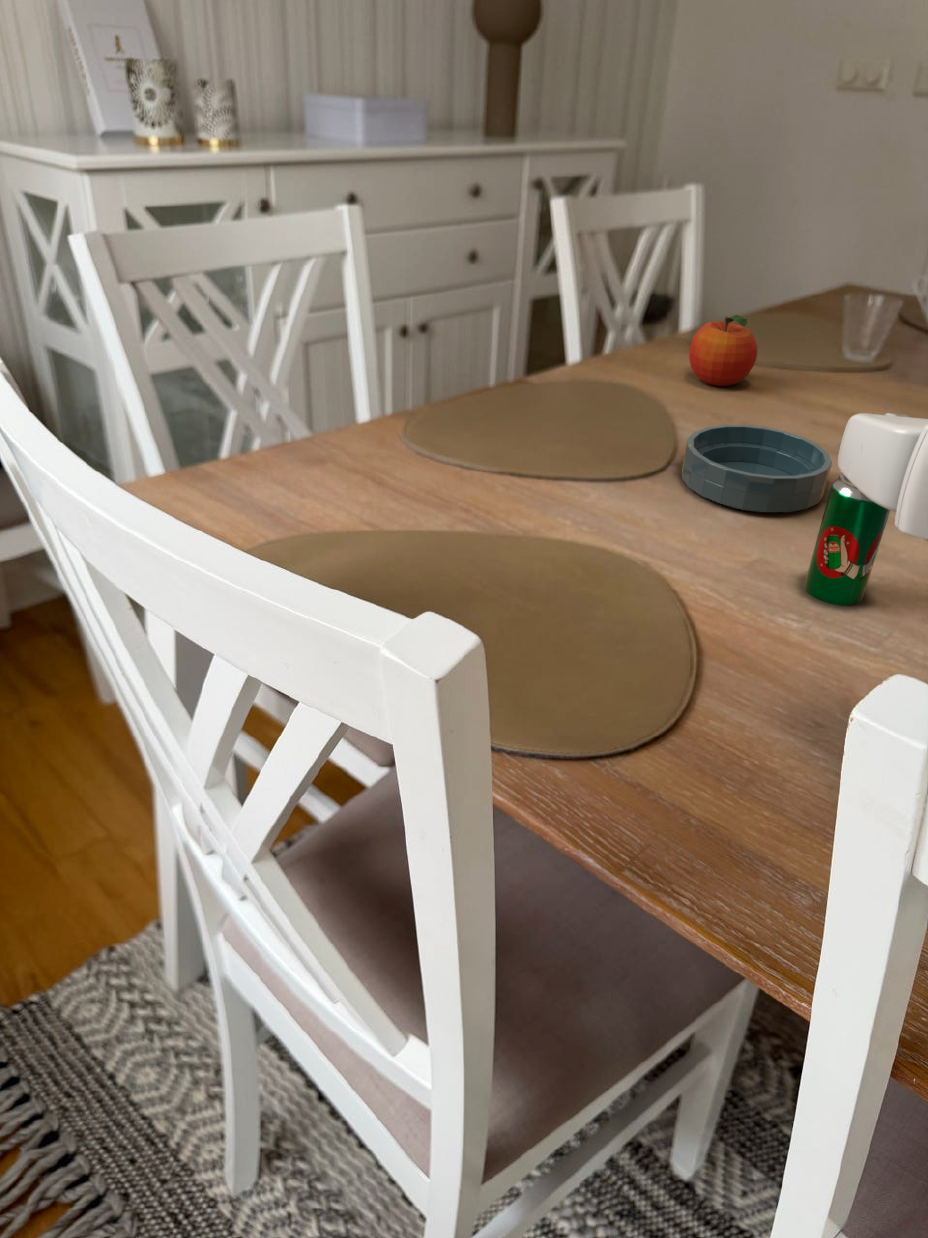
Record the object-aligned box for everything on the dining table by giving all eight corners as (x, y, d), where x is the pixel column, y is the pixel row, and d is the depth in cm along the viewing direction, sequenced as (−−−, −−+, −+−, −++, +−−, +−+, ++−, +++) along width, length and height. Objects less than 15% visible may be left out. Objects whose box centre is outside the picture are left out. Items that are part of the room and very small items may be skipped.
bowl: (813, 469, 112) (823, 433, 109) (828, 525, 99) (839, 486, 96) (681, 454, 114) (688, 418, 112) (679, 507, 101) (686, 467, 99)
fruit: (723, 368, 144) (736, 301, 139) (764, 388, 137) (779, 318, 131) (671, 374, 140) (682, 305, 135) (709, 395, 133) (723, 323, 128)
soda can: (842, 585, 88) (877, 465, 82) (870, 614, 84) (910, 489, 77) (791, 588, 87) (823, 467, 81) (818, 617, 83) (854, 491, 77)
